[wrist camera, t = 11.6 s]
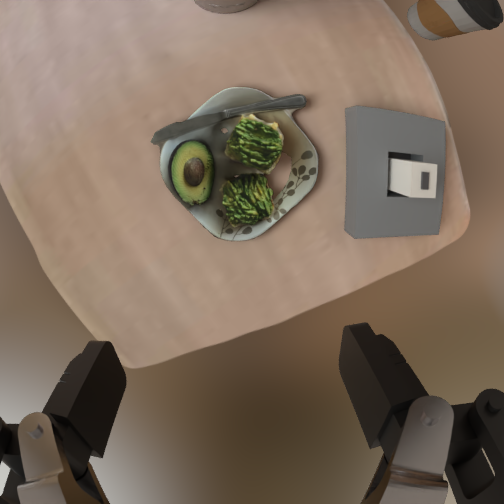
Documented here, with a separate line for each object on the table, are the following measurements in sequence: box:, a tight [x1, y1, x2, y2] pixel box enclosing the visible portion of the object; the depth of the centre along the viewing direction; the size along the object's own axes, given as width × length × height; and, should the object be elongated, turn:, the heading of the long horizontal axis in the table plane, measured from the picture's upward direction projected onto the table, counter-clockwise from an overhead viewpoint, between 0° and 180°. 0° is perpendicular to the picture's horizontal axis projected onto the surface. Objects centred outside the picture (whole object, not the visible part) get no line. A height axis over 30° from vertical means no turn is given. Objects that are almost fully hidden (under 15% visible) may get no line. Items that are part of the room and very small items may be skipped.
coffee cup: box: [407, 0, 503, 40], centre depth 18 cm, size 8×8×15 cm
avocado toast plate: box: [151, 87, 319, 241], centre depth 30 cm, size 19×18×5 cm
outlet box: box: [345, 106, 446, 239], centre depth 32 cm, size 16×14×4 cm
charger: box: [387, 158, 437, 198], centre depth 30 cm, size 4×4×7 cm
